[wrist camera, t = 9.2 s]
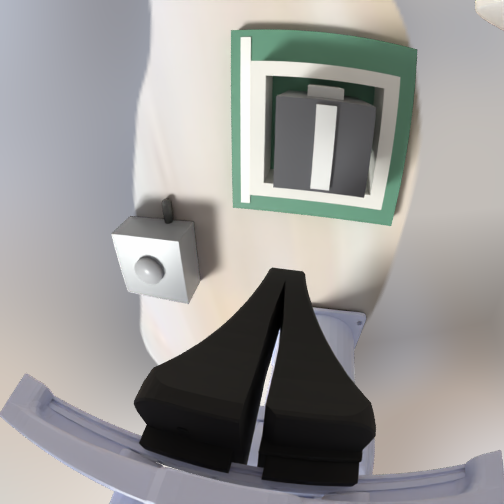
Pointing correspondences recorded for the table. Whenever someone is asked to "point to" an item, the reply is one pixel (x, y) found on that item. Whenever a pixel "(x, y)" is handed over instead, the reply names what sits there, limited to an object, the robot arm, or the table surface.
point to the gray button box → (158, 256)
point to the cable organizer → (491, 11)
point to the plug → (323, 141)
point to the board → (298, 78)
